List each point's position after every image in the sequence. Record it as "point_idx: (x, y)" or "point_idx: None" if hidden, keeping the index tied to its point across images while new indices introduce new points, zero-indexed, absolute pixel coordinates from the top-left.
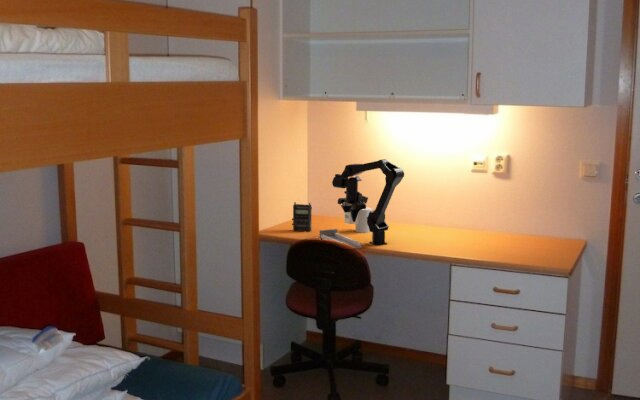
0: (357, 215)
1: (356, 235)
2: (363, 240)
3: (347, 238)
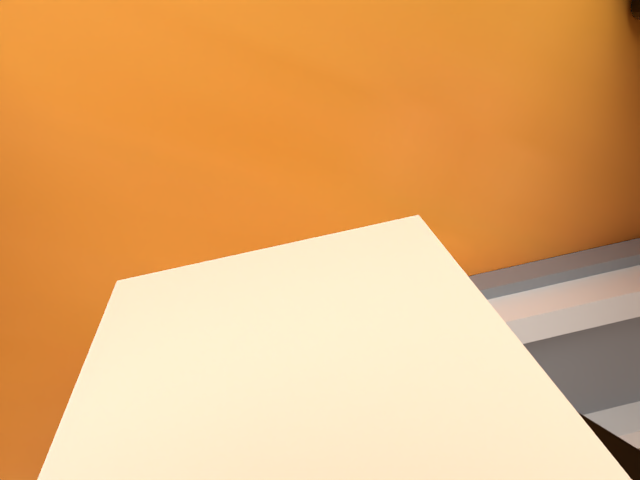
0: (555, 423)
1: (37, 31)
2: (446, 51)
3: (530, 341)
